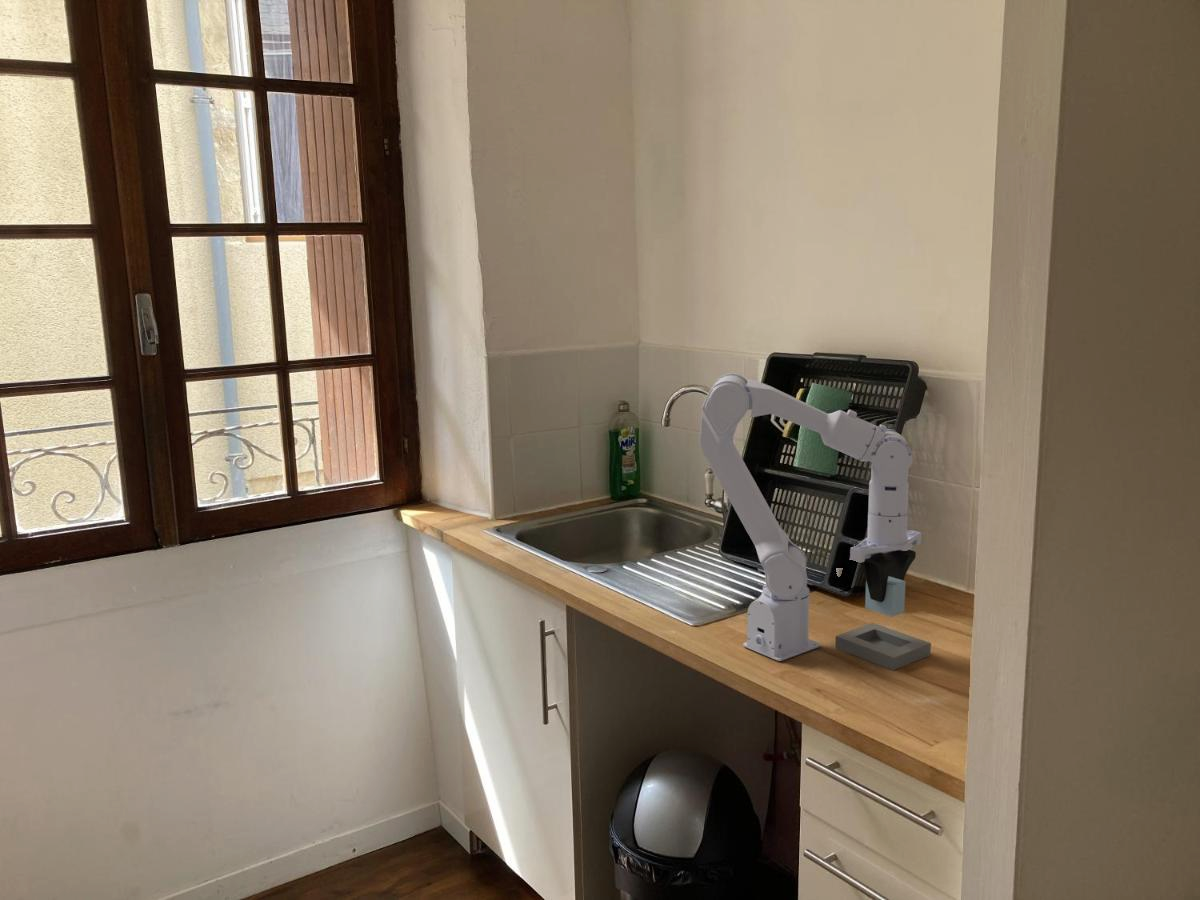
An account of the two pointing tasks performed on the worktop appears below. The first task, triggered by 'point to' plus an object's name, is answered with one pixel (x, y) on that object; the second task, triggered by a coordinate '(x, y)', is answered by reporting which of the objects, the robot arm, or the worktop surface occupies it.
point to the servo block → (889, 598)
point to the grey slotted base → (883, 646)
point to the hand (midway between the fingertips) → (884, 597)
